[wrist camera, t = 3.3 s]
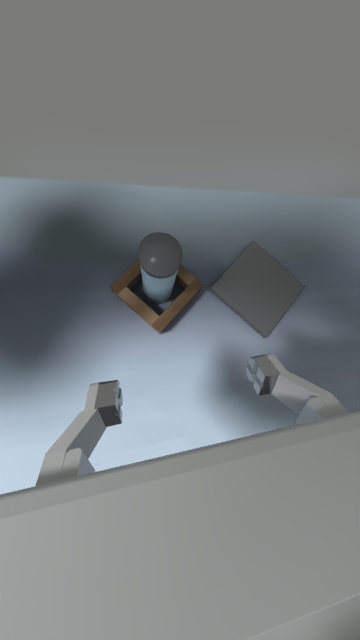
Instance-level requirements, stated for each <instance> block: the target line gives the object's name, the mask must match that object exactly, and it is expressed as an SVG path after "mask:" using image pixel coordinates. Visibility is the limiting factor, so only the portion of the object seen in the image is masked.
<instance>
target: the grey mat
mask: <svg viewBox="0 0 360 640" xmlns="http://www.w3.org/2000/svg"><path fill="white" fill-rule="evenodd" d="M304 287H305V285H303V284H302V283H301V282H300V281H299V280H298V279H297V278H295V277H294V276H293V275H292V274H291V273H290V272H288V271H287V270H286V269H285V268H284V267H283V266H282V265H280V264H279V263H278V262H277V261H276V260H275V259H274V258H272V257H271V256H270V255H269V254H268V253H267V252H265V251H264V250H263V249H262V248H261V247H260V246H259V245H257V244H256V243H255V242H254V241H252V242H251V243H250V244H249V245H248V247H247V248H246V249H245V250H244V251H243V252H242V253H241V254H240V256H239V257H238V258H237V259H236V260H235V261H234V262H233V263H232V264H231V266H230V267H229V268H228V269H227V270H226V271H225V272H224V273H223V274H222V276H221V277H220V278H219V279H218V280H217V281H216V282H215V283H214V285H213V286H212V287H211V288H210V289H209V290H210V291H211V292H212V293H214V294H215V295H216V296H217V297H218V298H219V299H220V300H222V301H223V302H224V303H225V304H226V305H227V306H228V307H229V308H231V309H232V310H233V311H234V312H235V313H236V314H237V315H239V316H240V317H241V318H242V319H243V320H244V321H245V322H247V323H248V324H249V325H250V326H251V327H252V328H253V329H254V330H256V331H257V332H258V333H259V334H260V335H261V336H262V337H264V338H265V337H267V336H268V335H269V334H270V332H271V331H272V330H273V328H274V327H275V326H276V324H277V323H278V322H279V320H280V319H281V318H282V316H283V315H284V313H285V312H286V311H287V309H288V308H289V307H290V305H291V304H292V303H293V301H294V300H295V299H296V297H297V296H298V295H299V293H300V292H301V291H302V289H303V288H304Z"/></svg>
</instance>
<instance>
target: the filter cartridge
mask: <svg viewBox="0 0 360 640" xmlns="http://www.w3.org/2000/svg"><path fill="white" fill-rule="evenodd" d="M181 258H182V249H181V246H180V244H179V242H178V241H177V240H176V239H175V238H174V237H172V236H171V235H169V234H166V233H160V232H158V233H152V234H150V235H148V236H146V237H145V238H144V239H143V240H142V242H141V243H140V246H139V259H140V266H141V274H142V281H143V289H144V295H145V297H146V298H147V299H148V300H149V301H150V302H152V303H154V304H161V303H164V302H166V301H167V300H168V299H169V298H170V296H171V292H172V289H173V285H174V282H175V279H176V275H177V272H178V268H179V265H180V261H181Z"/></svg>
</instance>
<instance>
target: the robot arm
mask: <svg viewBox="0 0 360 640" xmlns="http://www.w3.org/2000/svg"><path fill="white" fill-rule="evenodd" d="M248 363H249V364H248V365H247V367H246V375H247V377H248V379H249V381H251V382H252V383H253V388H254V389H255V391H256V392H257V394H258V396H259V395H265V394H270V393H271V395H273V396H274V397H275V398H277V399H278V400H279V401H281V402H282V403H283V404H285V405H286V406H287V407H289V408H290V409H291V410H293V411H294V412H295V413H297V414H298V415H299V416H298V418H297V419H296V422H295V424H296V425H293V426H289V427H285V428H281V429H276V430H272V431H268V432H264V433H259V434H255V435H251V436H247V437H242V438H238V439H234V440H230V441H225V442H221V443H217V444H213V445H208V446H204V447H200V448H196V449H191V450H187V451H183V452H179V453H175V454H170V455H166V456H162V457H158V458H153V459H149V460H145V461H141V462H136V463H132V464H128V465H124V466H120V467H115V468H111V469H107V470H103V471H98V472H95V469H94V468H93V466H92V465H91V463H90V462H89V460H88V458H89V457H90V455H91V453H92V451H93V450H94V448H95V446H96V445H97V443H98V441H99V440H100V438H101V436H102V434H103V433H104V431H105V429H106V427H108V426H112V425H117V424H121V423H122V410H121V406H122V404H123V399H122V391H121V388H119V381H118V380H114V381H107V382H100V383H94V384H90V386H89V389H88V393H87V398H86V403H85V408H84V411H82V412H80V413H79V415H78V416H77V417H76V418H75V419H74V421H73V422H72V423H71V424H70V425H69V427H68V428H67V429H66V430H65V431H64V433H63V434H62V435H61V436H60V437H59V439H58V440H57V441H56V442H55V443H54V445H53V446H52V447H51V448H50V449H49V450H48V452H47V453H46V454H45V458H44V461H43V464H42V467H41V470H40V473H39V477H38V480H37V483H36V486H35V487H31V488H26V489H22V490H18V491H14V492H9V493H5V494H1V495H0V640H360V410H357V411H353V412H349V411H348V410H347V409H346V408H345V407H344V406H343V405H342V404H341V403H340V402H339V401H338V400H337V398H336V397H335V396H334V395H333V394H332V393H330V392H328V391H326V390H325V389H323V388H321V387H319V386H317V385H315V384H313V383H311V382H309V381H307V380H305V379H303V378H301V377H299V376H297V375H296V374H294V373H292V372H288V371H287V370H286V369H285V367H284V366H283V365H282V364H281V363H280V361H279V360H278V359H277V358H276V357H275V355H274V354H266V355H260V356H254V357H250V358H249V359H248Z"/></svg>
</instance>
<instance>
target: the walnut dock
mask: <svg viewBox="0 0 360 640" xmlns="http://www.w3.org/2000/svg"><path fill="white" fill-rule="evenodd" d="M141 278H142V274H141V266H140V259H139V260H138V261H136V262H135V263H134V264H133V265H132V266H131V267H130V268H129V269H128V270H127V271H126V272H125V273H124V274H123V275H122V276H121V277H119V278H118V279H117V280H116V281H115V282H114V283H113V284H112V285H111V286H110V288H111V290H112V291H113V292H114V293H115V294H116V295H117V296H118V297H119V298H120V299H121V300H123V301H124V302H125V303H126V304H127V305H128V306H129V307H130V308H131V309H133V310H134V311H135V312H136V313H137V314H138V315H139V316H140V317H142V318H143V319H144V320H145V321H146V322H147V323H148V324H149V325H150V326H152V327H153V328H154V329H155V330H156V331H157V332H158V333H159V334H160V333H161V332H162V331H163V330H164V329H165V328H166V327H167V326H168V324H169V323H170V322H171V321H172V320H173V319H174V318H175V317H176V316H177V315H178V313H179V312H180V311H181V310H182V309H183V308H184V307H185V306H186V305H187V304H188V302H189V301H190V300H191V299H192V298H193V297H194V296H195V295H196V294H197V293H198V291H199V290H200V289H201V288H202V286H203V284H202V283H200V282H199V281H198V280H197V279H196V278H195V277H194V276H192V275H191V274H190V273H189V272H188V271H187V270H186V269H185V268H183V267H182V266H181V265H179V268H178V272H177V275H176V279H175V281H177V282H178V283H179V284H180V285H181V286H182V287H183V288H184V289H185V290H184V291H183V292H182V293H181V294H180V295H179V296H178V297H177V298H176V299H175V300H174V301H173V303H172V304H171V305H170V306H169V307H168V308H167V309H166V310H165V311H164V312H163V313H162V314H161V315H160V316H159V315H158V314H156V313H155V312H154V311H153V310H152V309H151V308H150V307H149V306H147V305H146V304H145V303H144V302H143V301H142V300H141V299H140V298H139V297H137V296H136V295H135V294H134V293H133V292H132V291H131V290H130V289H131V288H132V287H133V286H134V285H135V284H136V283H137V282H138V281H139V280H140V279H141Z"/></svg>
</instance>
